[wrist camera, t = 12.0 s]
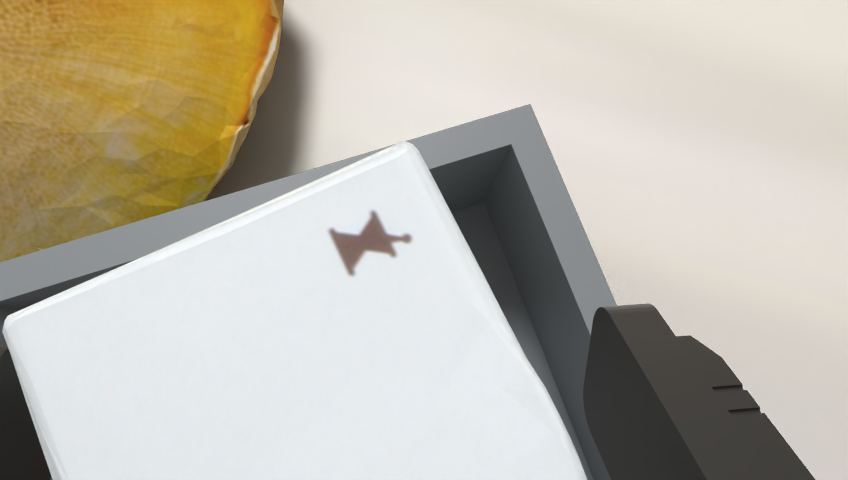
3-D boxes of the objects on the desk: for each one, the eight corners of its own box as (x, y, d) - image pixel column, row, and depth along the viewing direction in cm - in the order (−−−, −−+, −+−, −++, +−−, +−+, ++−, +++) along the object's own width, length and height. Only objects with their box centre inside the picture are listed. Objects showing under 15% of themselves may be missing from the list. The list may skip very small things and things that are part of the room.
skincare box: (241, 385, 17) (-24, 296, 6) (392, 315, 18) (420, 115, 7) (337, 620, 16) (239, 1109, 4) (494, 534, 17) (757, 765, 5)
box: (494, 180, 20) (529, 104, 16) (658, 589, 18) (764, 648, 13) (55, 318, 18) (-58, 279, 14) (162, 805, 16) (66, 971, 11)
